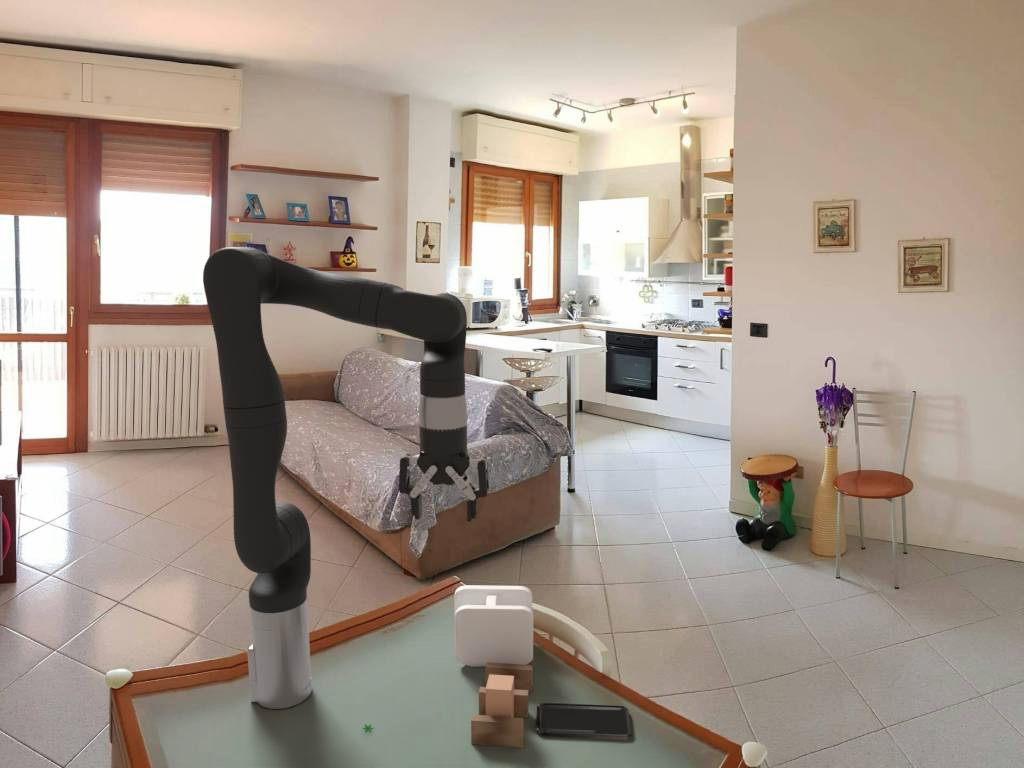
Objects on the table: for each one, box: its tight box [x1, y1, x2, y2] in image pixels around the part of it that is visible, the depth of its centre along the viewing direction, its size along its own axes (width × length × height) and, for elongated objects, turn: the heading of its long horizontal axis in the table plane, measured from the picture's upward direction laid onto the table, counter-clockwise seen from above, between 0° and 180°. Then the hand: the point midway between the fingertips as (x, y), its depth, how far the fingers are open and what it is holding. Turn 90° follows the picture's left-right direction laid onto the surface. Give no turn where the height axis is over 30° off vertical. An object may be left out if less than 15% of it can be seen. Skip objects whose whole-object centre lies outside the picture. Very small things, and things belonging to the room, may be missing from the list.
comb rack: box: [470, 662, 534, 748], centre depth 127 cm, size 8×16×4 cm, turn 173°
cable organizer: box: [453, 584, 534, 668], centre depth 145 cm, size 15×11×12 cm
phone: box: [535, 702, 632, 741], centre depth 125 cm, size 8×1×15 cm
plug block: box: [485, 674, 515, 718], centre depth 123 cm, size 4×4×8 cm
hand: (444, 519), depth 125 cm, fingers open, 8 cm apart
